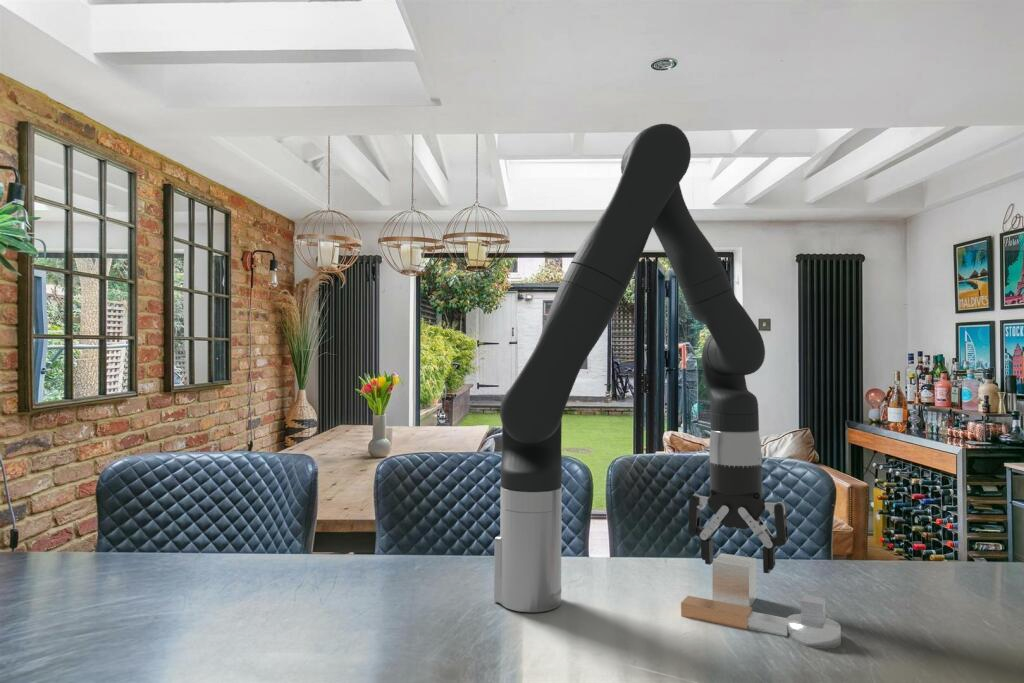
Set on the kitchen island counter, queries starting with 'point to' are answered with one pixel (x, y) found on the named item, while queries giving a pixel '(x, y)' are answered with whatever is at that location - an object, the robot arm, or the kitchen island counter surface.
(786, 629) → the ratchet
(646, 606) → the kitchen island counter surface
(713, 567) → the light grey block
